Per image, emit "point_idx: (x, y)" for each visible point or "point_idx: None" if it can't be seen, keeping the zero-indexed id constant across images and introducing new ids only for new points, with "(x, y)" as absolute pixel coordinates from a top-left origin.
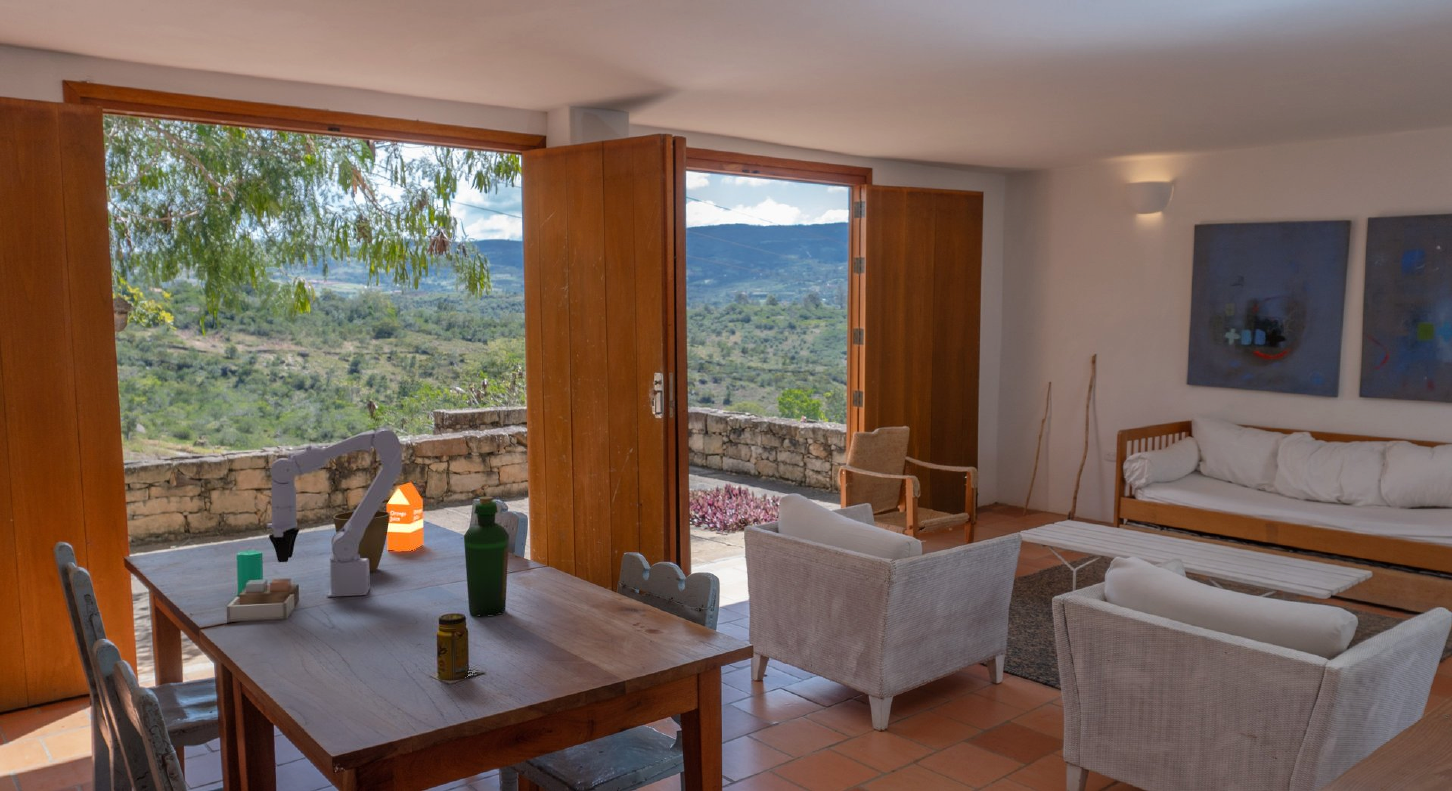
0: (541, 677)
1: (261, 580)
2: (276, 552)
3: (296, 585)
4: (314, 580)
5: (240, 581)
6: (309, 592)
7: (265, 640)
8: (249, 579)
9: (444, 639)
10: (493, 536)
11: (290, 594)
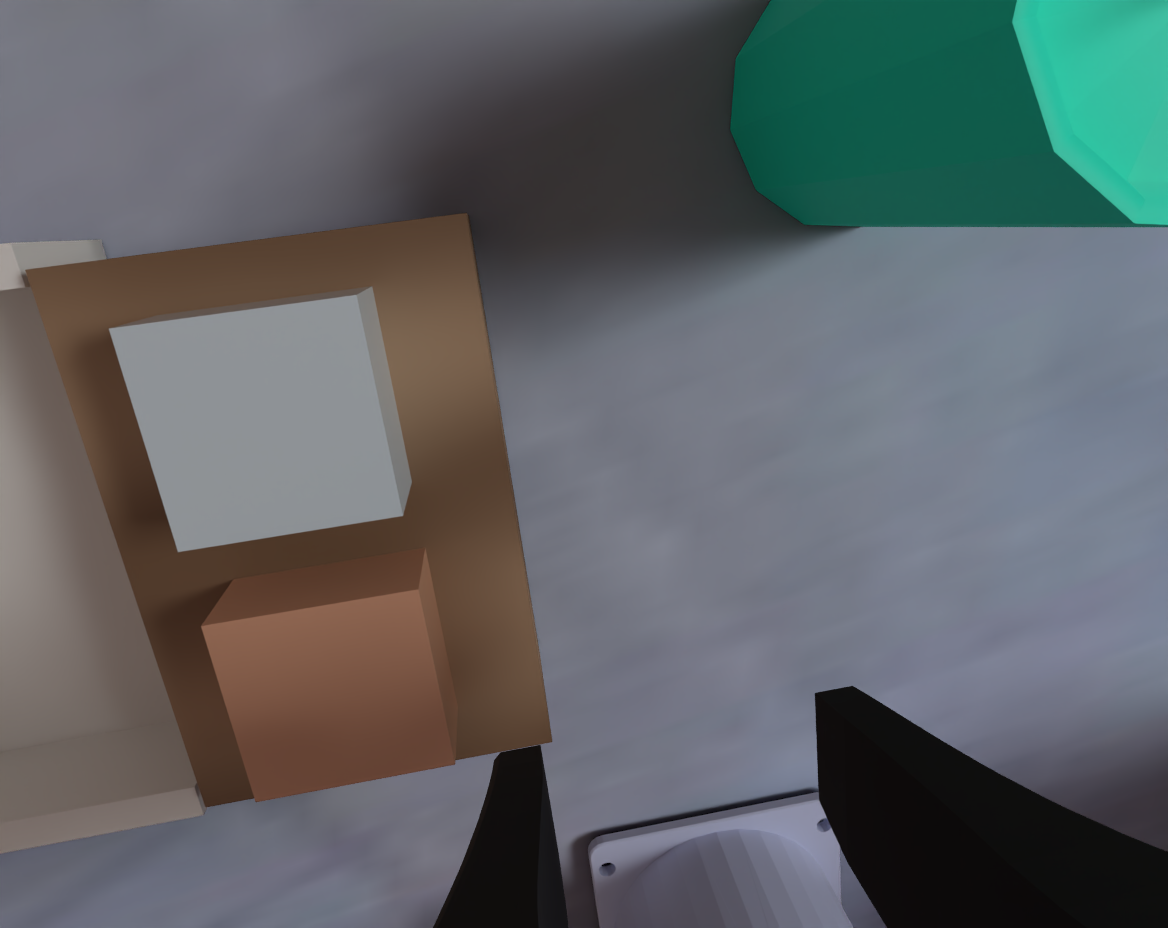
0: None
1: (347, 464)
2: (460, 882)
3: (490, 744)
4: (1163, 548)
5: None
6: (770, 649)
7: None
8: (800, 114)
9: None
10: None
11: (188, 788)
